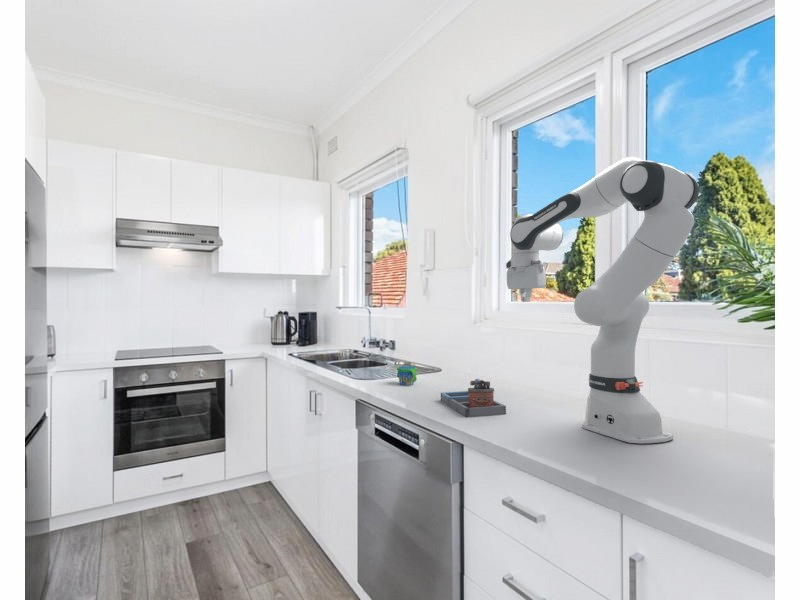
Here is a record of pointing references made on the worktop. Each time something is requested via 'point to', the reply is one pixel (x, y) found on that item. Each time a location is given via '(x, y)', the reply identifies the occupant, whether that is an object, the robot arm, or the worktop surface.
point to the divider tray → (461, 404)
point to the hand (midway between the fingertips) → (525, 301)
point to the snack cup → (406, 375)
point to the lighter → (481, 394)
